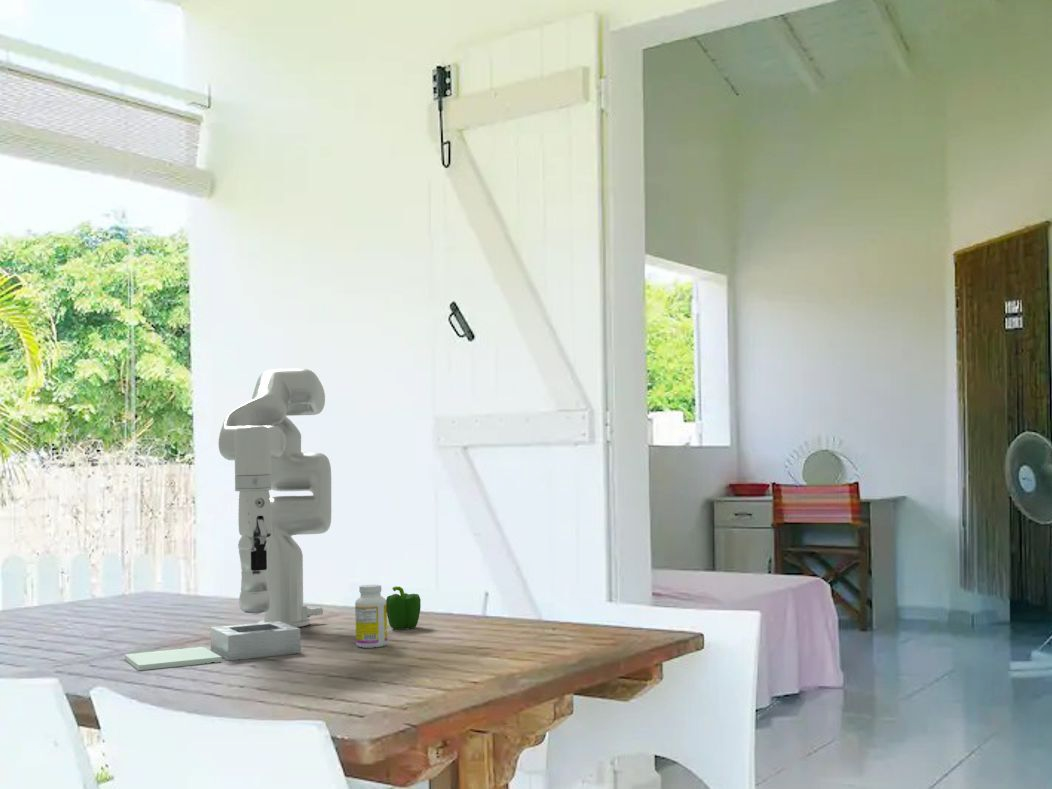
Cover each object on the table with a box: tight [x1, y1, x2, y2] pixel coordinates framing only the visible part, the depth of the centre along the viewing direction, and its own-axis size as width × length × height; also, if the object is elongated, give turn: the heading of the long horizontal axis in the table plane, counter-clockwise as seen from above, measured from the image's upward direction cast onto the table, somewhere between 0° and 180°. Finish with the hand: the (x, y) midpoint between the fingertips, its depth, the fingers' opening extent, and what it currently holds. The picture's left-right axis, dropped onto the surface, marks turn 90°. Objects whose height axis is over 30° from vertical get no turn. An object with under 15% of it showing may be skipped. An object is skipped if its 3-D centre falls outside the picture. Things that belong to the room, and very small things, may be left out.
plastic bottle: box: [237, 531, 271, 615], centre depth 243 cm, size 6×7×20 cm
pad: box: [124, 646, 223, 671], centre depth 233 cm, size 16×16×1 cm
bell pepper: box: [385, 585, 422, 630], centre depth 272 cm, size 8×8×10 cm
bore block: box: [210, 621, 302, 661], centre depth 241 cm, size 15×15×5 cm
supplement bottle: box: [354, 584, 388, 649], centre depth 246 cm, size 7×7×13 cm
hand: (254, 568), depth 243 cm, fingers closed on plastic bottle, 6 cm apart
